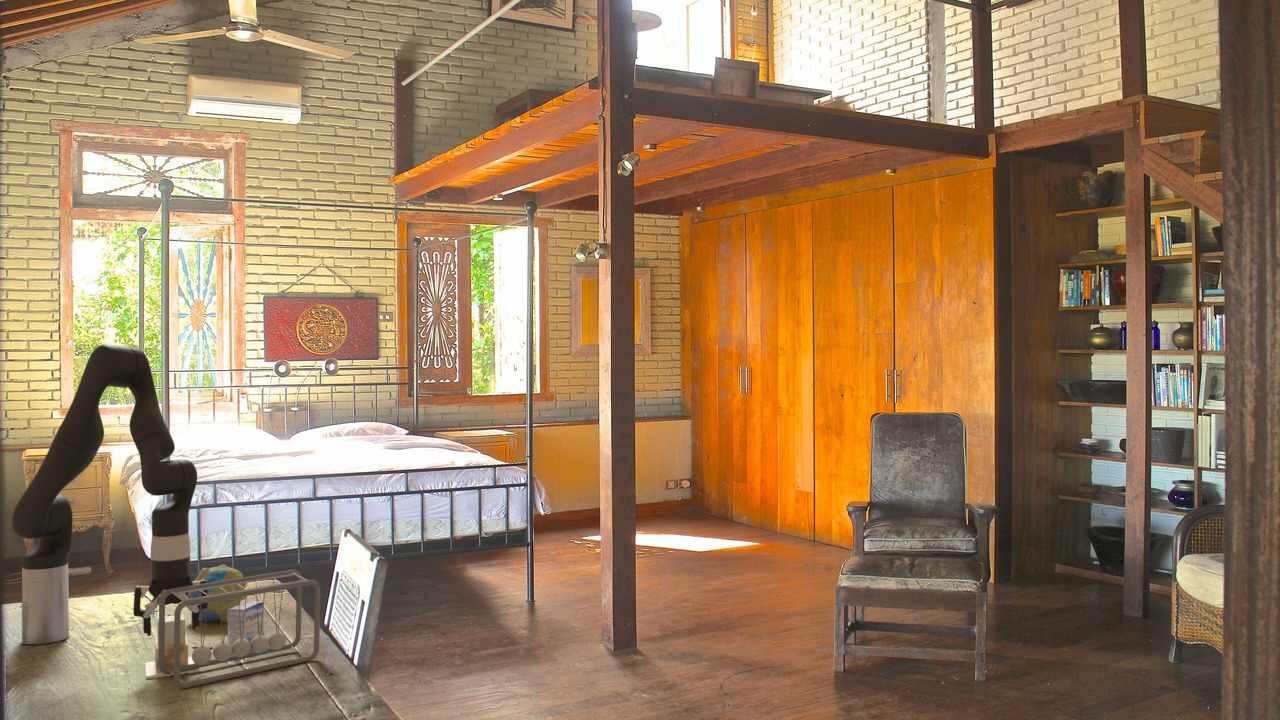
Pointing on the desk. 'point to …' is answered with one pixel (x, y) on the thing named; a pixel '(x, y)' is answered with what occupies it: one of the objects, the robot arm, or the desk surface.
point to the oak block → (172, 655)
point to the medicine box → (245, 621)
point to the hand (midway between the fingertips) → (171, 632)
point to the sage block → (172, 630)
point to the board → (151, 673)
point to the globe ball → (214, 607)
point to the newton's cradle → (241, 645)
